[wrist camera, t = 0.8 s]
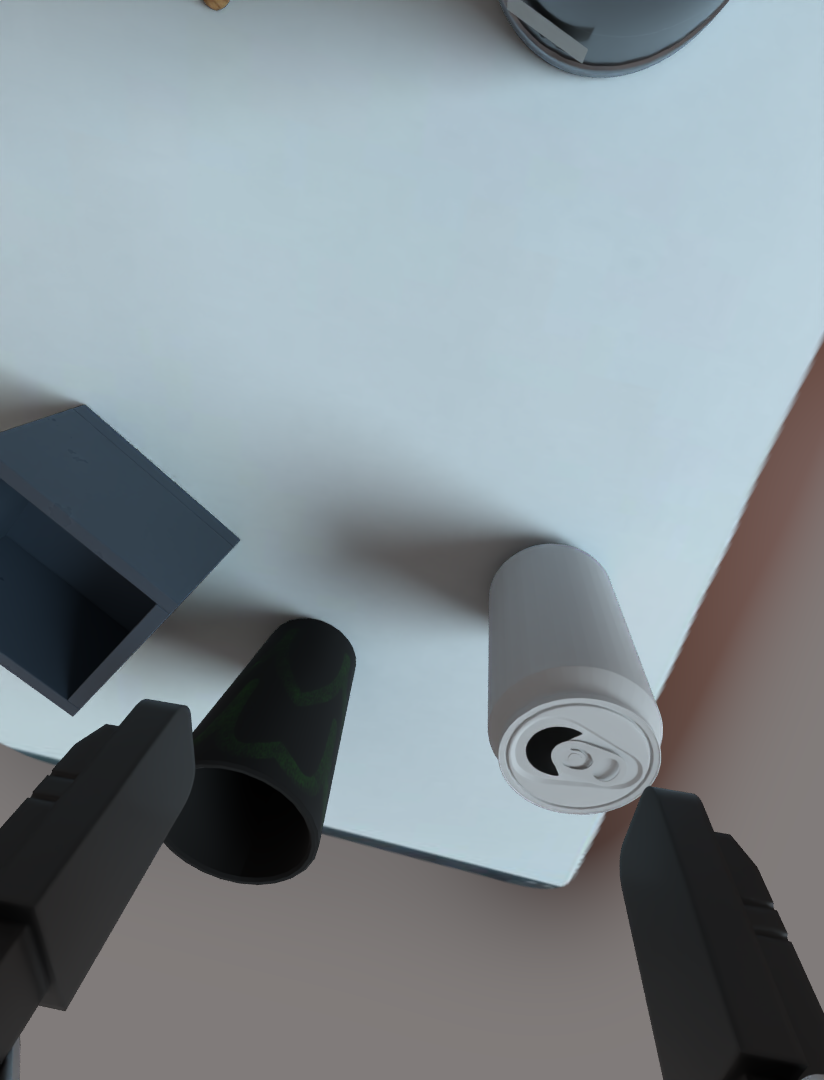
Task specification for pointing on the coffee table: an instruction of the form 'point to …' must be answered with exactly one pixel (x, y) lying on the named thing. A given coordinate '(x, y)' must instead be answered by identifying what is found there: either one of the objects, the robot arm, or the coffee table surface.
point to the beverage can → (567, 686)
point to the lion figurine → (216, 4)
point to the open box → (90, 552)
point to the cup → (268, 759)
